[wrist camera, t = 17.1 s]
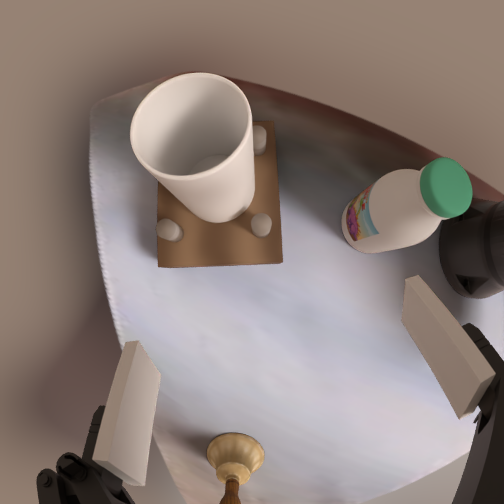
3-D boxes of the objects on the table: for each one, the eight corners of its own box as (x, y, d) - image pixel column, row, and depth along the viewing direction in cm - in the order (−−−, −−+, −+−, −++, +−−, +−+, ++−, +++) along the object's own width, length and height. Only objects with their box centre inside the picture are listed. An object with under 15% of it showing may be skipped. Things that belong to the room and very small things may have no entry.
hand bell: (250, 425, 37) (245, 498, 21) (273, 465, 36) (278, 539, 20) (197, 441, 37) (170, 511, 21) (222, 480, 36) (208, 552, 20)
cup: (171, 177, 34) (113, 112, 18) (231, 142, 34) (214, 55, 18) (205, 236, 34) (160, 204, 18) (268, 198, 34) (276, 136, 18)
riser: (272, 137, 39) (275, 104, 30) (279, 263, 38) (286, 260, 29) (171, 145, 40) (151, 115, 31) (170, 267, 38) (145, 266, 29)
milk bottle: (401, 216, 38) (495, 176, 18) (377, 265, 38) (471, 256, 18) (356, 185, 39) (428, 118, 19) (329, 234, 38) (395, 196, 18)
